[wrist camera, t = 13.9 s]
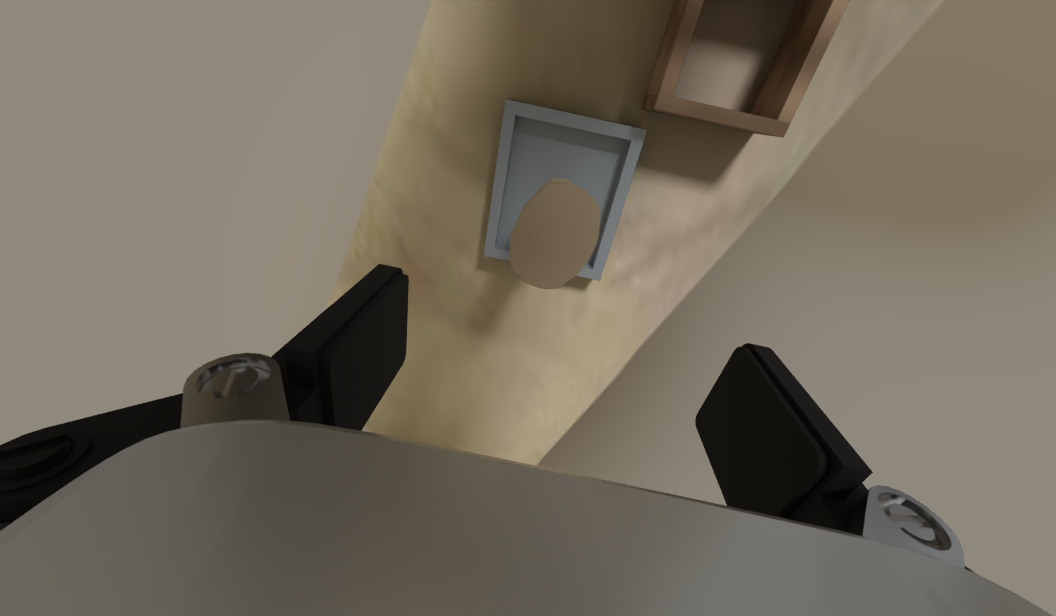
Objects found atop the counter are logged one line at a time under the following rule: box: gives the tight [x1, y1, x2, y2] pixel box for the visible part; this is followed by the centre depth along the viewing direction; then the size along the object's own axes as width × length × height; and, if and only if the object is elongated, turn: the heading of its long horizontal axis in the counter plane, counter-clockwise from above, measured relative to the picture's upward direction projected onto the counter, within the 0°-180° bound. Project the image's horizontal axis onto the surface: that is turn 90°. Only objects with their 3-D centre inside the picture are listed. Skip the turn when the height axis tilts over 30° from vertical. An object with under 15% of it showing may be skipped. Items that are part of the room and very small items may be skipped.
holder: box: [642, 0, 850, 137], centre depth 27 cm, size 11×10×5 cm
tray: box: [483, 99, 647, 281], centre depth 35 cm, size 14×12×2 cm
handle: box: [510, 177, 600, 289], centre depth 29 cm, size 5×6×15 cm
